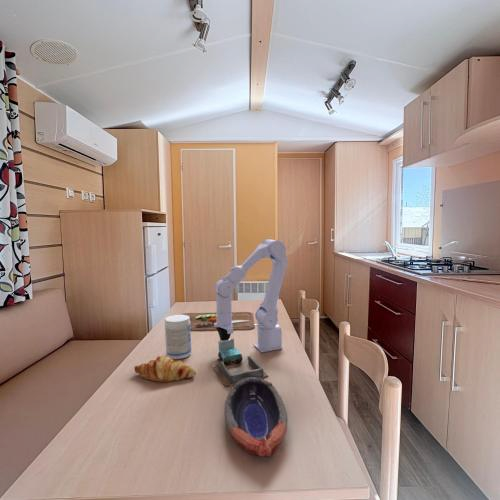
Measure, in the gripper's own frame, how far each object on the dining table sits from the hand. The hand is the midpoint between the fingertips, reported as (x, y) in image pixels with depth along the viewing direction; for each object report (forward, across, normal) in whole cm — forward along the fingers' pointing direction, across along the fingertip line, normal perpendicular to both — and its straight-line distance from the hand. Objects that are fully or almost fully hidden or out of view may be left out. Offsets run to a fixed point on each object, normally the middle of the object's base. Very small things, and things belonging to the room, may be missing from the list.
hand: (224, 345), depth 118 cm
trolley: (+3, +6, 0) cm, 7 cm away
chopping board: (+4, -40, +8) cm, 41 cm away
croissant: (+4, +8, -24) cm, 25 cm away
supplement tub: (+4, -7, -16) cm, 18 cm away
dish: (+4, +42, -6) cm, 42 cm away
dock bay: (+3, +16, 0) cm, 16 cm away
